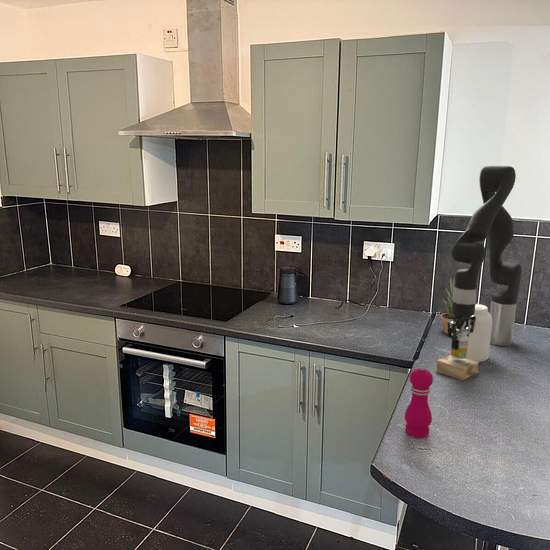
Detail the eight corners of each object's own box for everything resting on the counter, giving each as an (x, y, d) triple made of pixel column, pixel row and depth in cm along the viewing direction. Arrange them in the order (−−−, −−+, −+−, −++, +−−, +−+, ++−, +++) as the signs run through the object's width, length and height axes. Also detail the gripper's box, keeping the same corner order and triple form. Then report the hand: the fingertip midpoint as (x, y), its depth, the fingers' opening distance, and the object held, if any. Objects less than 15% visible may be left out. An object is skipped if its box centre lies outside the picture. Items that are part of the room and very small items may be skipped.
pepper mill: (398, 432, 142) (403, 364, 138) (412, 422, 147) (417, 356, 143) (421, 442, 137) (427, 372, 133) (435, 432, 142) (441, 364, 138)
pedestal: (452, 364, 189) (453, 353, 188) (477, 373, 181) (479, 361, 180) (436, 370, 183) (437, 359, 182) (462, 380, 175) (463, 368, 174)
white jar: (494, 357, 196) (500, 306, 191) (477, 365, 188) (483, 312, 183) (463, 347, 205) (468, 299, 200) (446, 355, 197) (451, 305, 192)
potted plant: (439, 327, 228) (443, 273, 223) (461, 329, 226) (467, 274, 220) (439, 335, 219) (444, 278, 213) (463, 337, 216) (468, 280, 211)
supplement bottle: (454, 352, 184) (456, 326, 182) (469, 356, 181) (472, 329, 179) (448, 356, 180) (450, 330, 178) (463, 360, 177) (466, 333, 175)
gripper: (465, 294, 183) (461, 339, 187) (442, 301, 174) (438, 348, 178) (485, 299, 178) (480, 345, 182) (462, 306, 169) (457, 355, 173)
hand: (459, 347), depth 180 cm, fingers closed on supplement bottle, 5 cm apart
